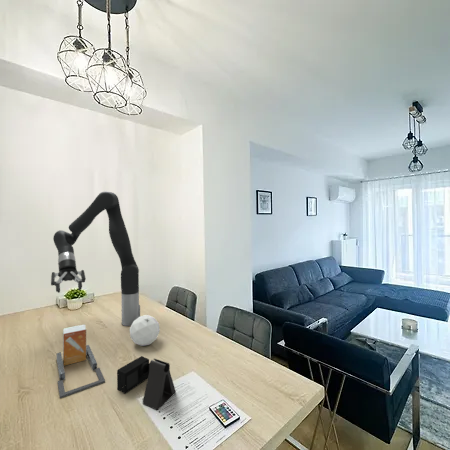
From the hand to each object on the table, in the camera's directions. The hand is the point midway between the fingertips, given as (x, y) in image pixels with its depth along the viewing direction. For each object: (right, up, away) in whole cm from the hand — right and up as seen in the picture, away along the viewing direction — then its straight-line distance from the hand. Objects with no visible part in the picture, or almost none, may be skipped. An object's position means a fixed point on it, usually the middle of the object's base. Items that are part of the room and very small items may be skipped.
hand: (69, 290), depth 120 cm
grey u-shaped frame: (+14, -25, -19) cm, 34 cm away
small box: (+12, -25, -16) cm, 32 cm away
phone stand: (+53, -25, -39) cm, 70 cm away
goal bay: (+23, -25, -30) cm, 45 cm away
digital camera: (+43, -25, -31) cm, 59 cm away
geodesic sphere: (+37, -25, -2) cm, 44 cm away
